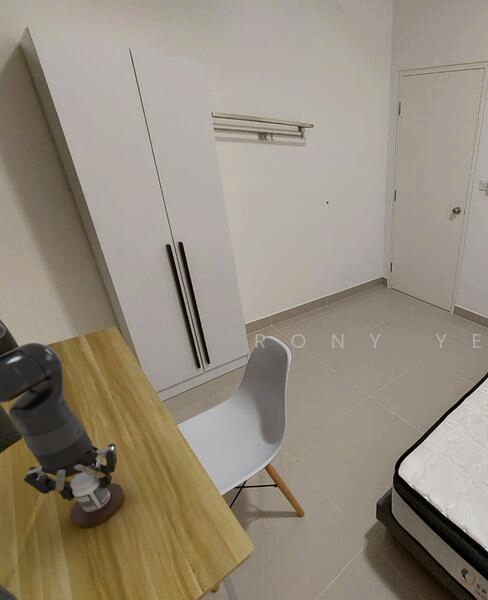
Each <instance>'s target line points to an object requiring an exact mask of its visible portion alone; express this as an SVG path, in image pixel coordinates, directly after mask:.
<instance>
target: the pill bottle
mask: <svg viewBox="0 0 488 600" xmlns="http://www.w3.org/2000/svg"><path fill="white" fill-rule="evenodd" d="M70 482H71V483H70V486H71V488H72V490H73V491H72V493H73V495H74V499H75V500H76V502H77V501H78V502H79V504H80V505H81V507H82V508H83V510H84V511H86V512H92V511H95V510H97V509H99V508H101V507H102V506H104V505H105V504H106V503H107V502H108V500H109V498H110V492H109V491H108V489H107V488H105V489H104V488H103V487H102V485H101V483H100V481H99V480H98V477H96V476H94V475H88V474H86V473H84V472H83V473H78V474H76V476H74V477H73V478H72V479H71V480H70Z"/></svg>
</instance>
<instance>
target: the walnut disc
mask: <svg viewBox="0 0 488 600" xmlns="http://www.w3.org/2000/svg"><path fill="white" fill-rule="evenodd" d="M107 489H108V491H109V492H110V498H109V500H108V502H107V503H106V504H105V505H104V506H102V507H101V508H99V509H97V510H95V511H92V512H86V511H84V510H83V508H82V507H81V505H80V504H79V502H78V501H77V500H76V502H75V503H74V504H73V505H72V507H71V509H70V511H69V518H70V520H71V522H72V524H73V525H74V526H75V527H76V528H78V529H82V530H83V529H86V530H87V529H92V528H94V527H97V526H99V525H101V524H103V523H105V522H106V521H108V520H109V519H111V518H112V517H113V516H115V515H116V514H117V513H118V512H119V510H120V509H121V508H122V506H123V504H124V503H125V499H126V494H125V491H124V490H123V487H122V486H121V485H120V484H118V483H114V482H111V484H109V487H108V488H107Z"/></svg>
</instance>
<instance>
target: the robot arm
mask: <svg viewBox="0 0 488 600" xmlns="http://www.w3.org/2000/svg"><path fill="white" fill-rule="evenodd" d="M6 333H7V330H6V327H5V326H4V325H3V324H2V323H1V322H0V339H2V338H3V337H4V336H5V335H6ZM63 369H64V368H63V363H62V360H61V358H60V356H59V354H58V353H57V352H56V351H55V350H54V349H53V348H51V347H50V346H48V345H46V344H43V343H39V342H30V343H25V344H22V345H20V346H18V347H16V348H14V349H12V350H10V351H7V352H5V353H3V354H1V355H0V404H3V403H8V402H11V401H13V400H14V401H13V403H12V404H11V405H10V406H9V409H8V415H9V417H10V419H11V420H12V423H14V425H15V426H16V428H17V430H18V431H19V432H20V433H21V435H22V439H23V441H24V443H25V445H26V447H27V449H29V451H30V452H31V454H32V456H33V457H34V458H35V459H36V461H37V462H38V464H39V465H40V466H31V467H29V469H28V470H27V472H26V474H25V477H24V479H23V481H24V482H25V483H27V484H28V485H30V486H31V487H32V488H34V489H35V490H37V491H39V492H40V493H41V494H42V495H47V494H50V492H52V491H53V492H56V493H59V495H60V496H61V498H62V499H64V500H67V501H68V502H70V501H72V500H75V497H74V495H73V493H72V491H73V490H72V488H71V486H70V483H71V480H68V478H70V477H72V476H75V475H78V474H80V473H83V472H84V473H86V474H88V475H94V476H96V477H98V480H99V481H100V483H101V485H102V487H103V488H104V489H105V488H108V487H109V484H111V483H112V479H113V476H112V473H114V472H115V471H116V467H117V463H118V458H117V447H116V444H115V443H110V444H108V445H107V447H102V448H98V447H97V446H95V445H93V442H92V439H91V438H90V436H89V434H88V432H87V431H86V428H85V427H84V425H83V423H82V422H81V420H80V418H79V416H78V415H77V414H76V413H75V411H74V410H73V408H72V407H71V405H70V402H68V400H67V398H66V396H65V384H64V370H63ZM99 457H101V458H102V459H103V460H105V461H106V463H104V462H103V461H101V459H100V458H99ZM49 475H51V476H56V478H55V479H53V478H52V477H50V476H49Z"/></svg>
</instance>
